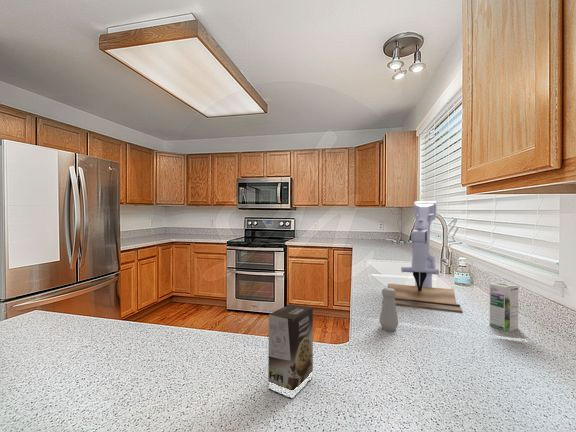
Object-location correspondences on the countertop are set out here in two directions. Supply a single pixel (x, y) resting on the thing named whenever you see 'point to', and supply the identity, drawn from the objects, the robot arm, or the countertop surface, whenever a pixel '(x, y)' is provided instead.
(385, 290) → the salt shaker
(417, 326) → the countertop surface
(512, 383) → the countertop surface
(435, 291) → the teak plank
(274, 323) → the coffee box
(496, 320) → the syrup box
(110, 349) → the countertop surface
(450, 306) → the walnut board
